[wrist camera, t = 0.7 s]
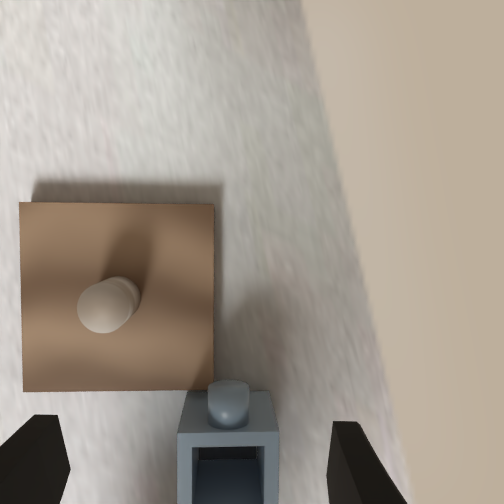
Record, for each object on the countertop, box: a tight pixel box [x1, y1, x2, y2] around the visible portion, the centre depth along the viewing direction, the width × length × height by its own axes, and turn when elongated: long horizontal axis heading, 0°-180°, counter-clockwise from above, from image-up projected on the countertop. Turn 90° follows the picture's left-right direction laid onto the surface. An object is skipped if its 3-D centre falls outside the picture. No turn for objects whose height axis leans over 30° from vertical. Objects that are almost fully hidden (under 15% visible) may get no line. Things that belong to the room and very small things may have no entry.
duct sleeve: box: [177, 380, 279, 504], centre depth 27 cm, size 8×6×6 cm
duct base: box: [19, 202, 214, 392], centre depth 27 cm, size 12×12×5 cm
